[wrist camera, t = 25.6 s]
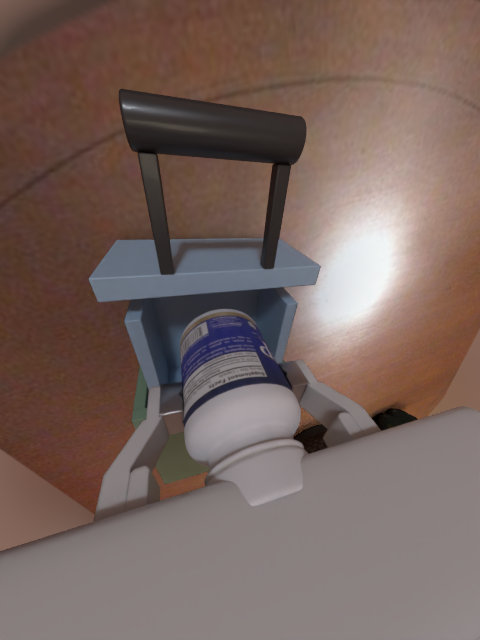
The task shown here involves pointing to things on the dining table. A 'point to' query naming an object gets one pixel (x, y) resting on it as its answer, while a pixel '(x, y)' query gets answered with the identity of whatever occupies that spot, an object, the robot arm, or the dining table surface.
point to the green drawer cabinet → (174, 454)
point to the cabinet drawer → (203, 254)
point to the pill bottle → (239, 407)
